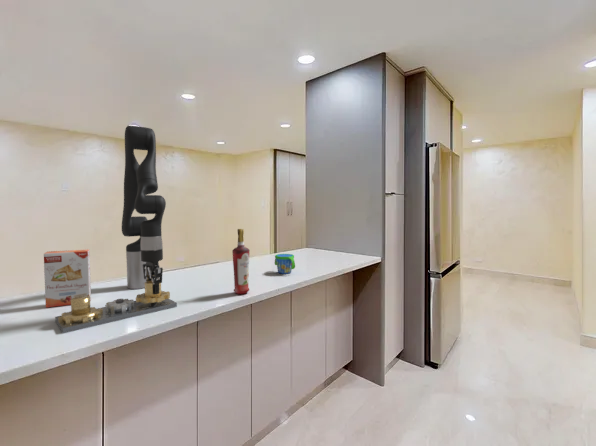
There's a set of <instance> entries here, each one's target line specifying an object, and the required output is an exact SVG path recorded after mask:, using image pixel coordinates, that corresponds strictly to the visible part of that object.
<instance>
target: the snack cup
mask: <svg viewBox="0 0 596 446" xmlns="http://www.w3.org/2000/svg"><path fill="white" fill-rule="evenodd" d="M274 265H275V266H276V269H277V273H278V274H282V275H289V274H291V273H292V270H294V269H295V268H296V263H295V255H294V254H291V253H277V254H275V255H274Z"/></svg>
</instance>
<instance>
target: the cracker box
mask: <svg viewBox="0 0 596 446" xmlns="http://www.w3.org/2000/svg"><path fill="white" fill-rule="evenodd" d="M90 257H91V255H90V249H75V250H74V249H72V250H51V251H46V252H44V253H43V270H44V271H43V272H44V297H45V308H47V309H48V308H55V307H63V306H71V299H72V298H75V297H79V296H90V301H91V300H92V285H91V282H92V281H91V260H90V259H91V258H90Z"/></svg>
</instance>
